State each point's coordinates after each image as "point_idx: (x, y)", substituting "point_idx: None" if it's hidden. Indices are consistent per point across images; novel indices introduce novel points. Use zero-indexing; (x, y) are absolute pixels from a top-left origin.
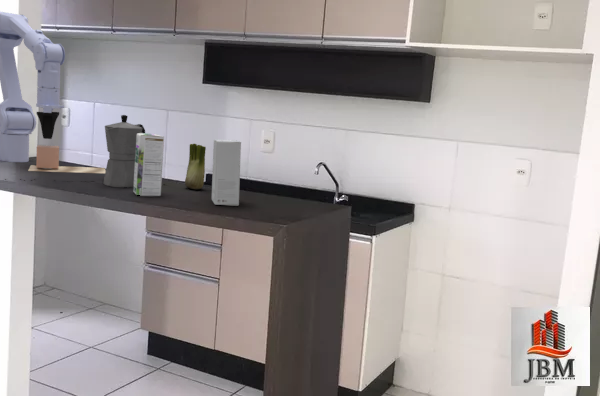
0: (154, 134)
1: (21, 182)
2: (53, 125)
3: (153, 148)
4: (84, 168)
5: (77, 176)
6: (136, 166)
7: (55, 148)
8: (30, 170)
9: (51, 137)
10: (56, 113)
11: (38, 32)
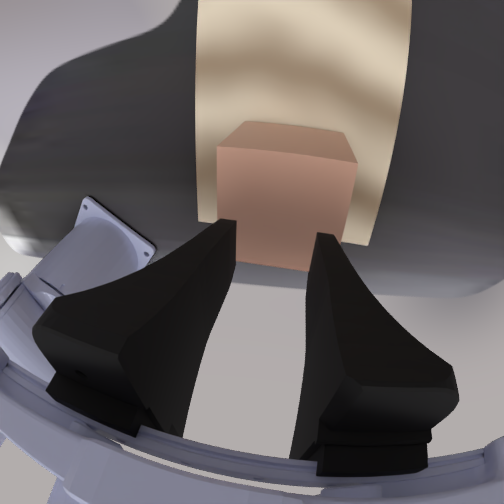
0: None
1: (500, 270)
2: (377, 305)
3: None
4: (250, 9)
5: (409, 67)
6: None
7: (353, 182)
8: (360, 237)
9: (336, 240)
10: (136, 367)
11: None
